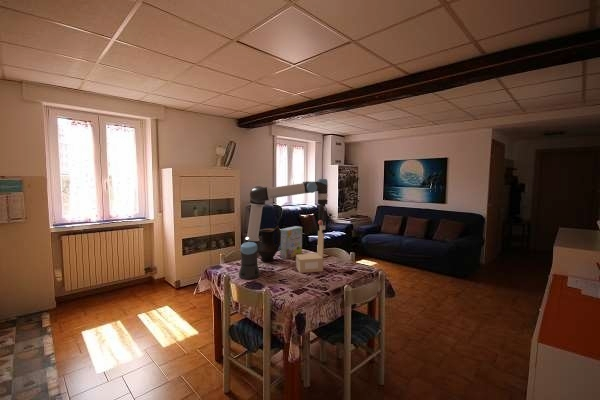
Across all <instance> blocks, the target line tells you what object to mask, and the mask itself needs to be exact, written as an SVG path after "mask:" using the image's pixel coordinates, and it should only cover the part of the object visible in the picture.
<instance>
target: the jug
mask: <svg viewBox="0 0 600 400" xmlns="http://www.w3.org/2000/svg"><path fill="white" fill-rule="evenodd" d="M275 232H276V233H277V234H276V235H277V237H276V244H275V240H274V235H275V234H274V233H275ZM259 233H260V234H261V235H260V236H261V239H260V243H259V251H258V255H259V256H260V257H261V259H260V261H261V262H263V263H272V262H274V261H275V258H274V257H275V255H276V254H277V252H278V251H279V248H280V246H281V229H280V226H276V227H275V228H263V229H262V228H261V229H259Z"/></svg>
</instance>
